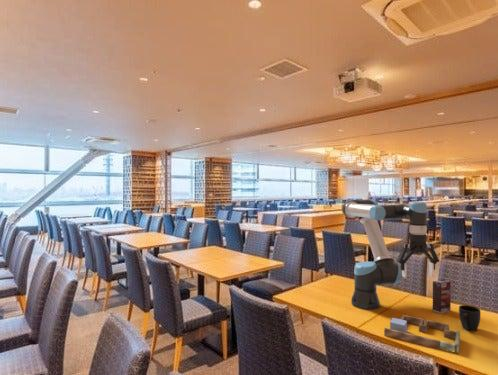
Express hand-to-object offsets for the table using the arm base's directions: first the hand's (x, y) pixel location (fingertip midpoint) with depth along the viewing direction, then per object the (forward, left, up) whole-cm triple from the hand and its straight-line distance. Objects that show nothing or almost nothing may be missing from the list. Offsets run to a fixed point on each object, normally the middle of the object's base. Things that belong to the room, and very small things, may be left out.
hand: (417, 276), depth 157 cm
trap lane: (+4, -14, -22) cm, 26 cm away
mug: (+20, +3, -22) cm, 30 cm away
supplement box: (+8, +22, -22) cm, 32 cm away
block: (-6, -17, -22) cm, 29 cm away
